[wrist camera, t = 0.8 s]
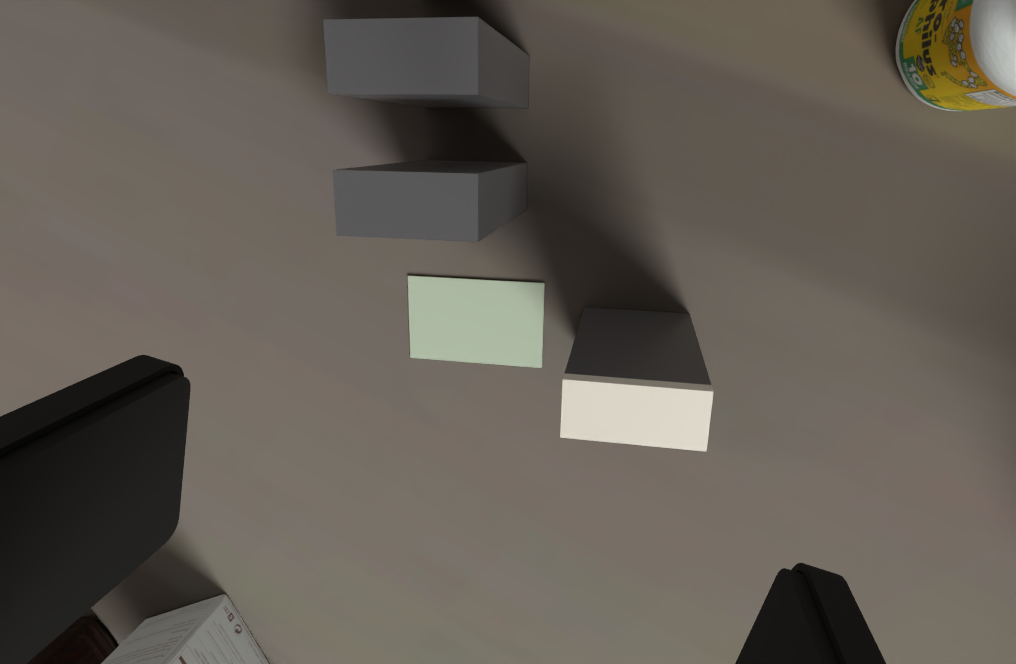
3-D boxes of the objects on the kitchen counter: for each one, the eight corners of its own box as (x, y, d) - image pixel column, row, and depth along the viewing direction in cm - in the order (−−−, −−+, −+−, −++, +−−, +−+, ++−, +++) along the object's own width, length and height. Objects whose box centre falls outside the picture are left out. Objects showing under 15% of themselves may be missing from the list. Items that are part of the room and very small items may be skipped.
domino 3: (689, 313, 31) (713, 391, 21) (685, 357, 31) (706, 451, 22) (584, 307, 32) (562, 379, 22) (582, 349, 32) (560, 437, 23)
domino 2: (527, 162, 30) (478, 173, 21) (526, 210, 31) (478, 241, 21) (424, 160, 31) (332, 170, 22) (425, 206, 32) (337, 235, 22)
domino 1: (529, 56, 29) (477, 16, 19) (528, 108, 29) (477, 94, 20) (422, 56, 30) (323, 19, 20) (423, 107, 30) (327, 94, 21)
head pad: (544, 283, 32) (544, 283, 31) (541, 367, 33) (541, 367, 33) (408, 275, 33) (407, 275, 33) (410, 356, 34) (410, 357, 34)
